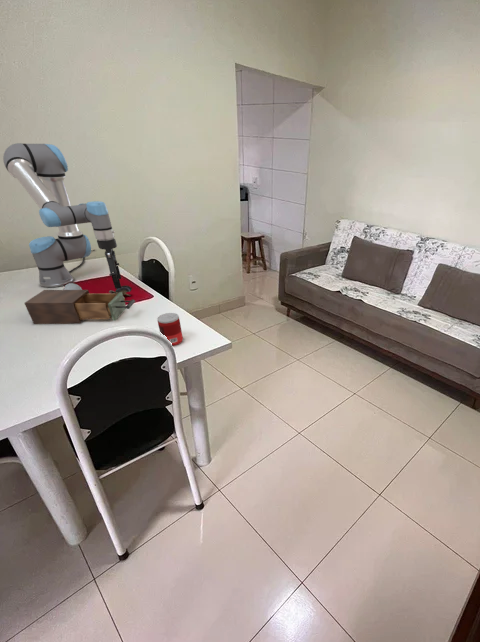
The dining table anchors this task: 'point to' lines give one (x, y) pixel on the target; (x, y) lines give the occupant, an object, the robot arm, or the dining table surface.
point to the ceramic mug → (72, 287)
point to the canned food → (170, 327)
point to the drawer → (102, 306)
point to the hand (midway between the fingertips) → (118, 283)
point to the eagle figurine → (122, 290)
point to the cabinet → (55, 307)
